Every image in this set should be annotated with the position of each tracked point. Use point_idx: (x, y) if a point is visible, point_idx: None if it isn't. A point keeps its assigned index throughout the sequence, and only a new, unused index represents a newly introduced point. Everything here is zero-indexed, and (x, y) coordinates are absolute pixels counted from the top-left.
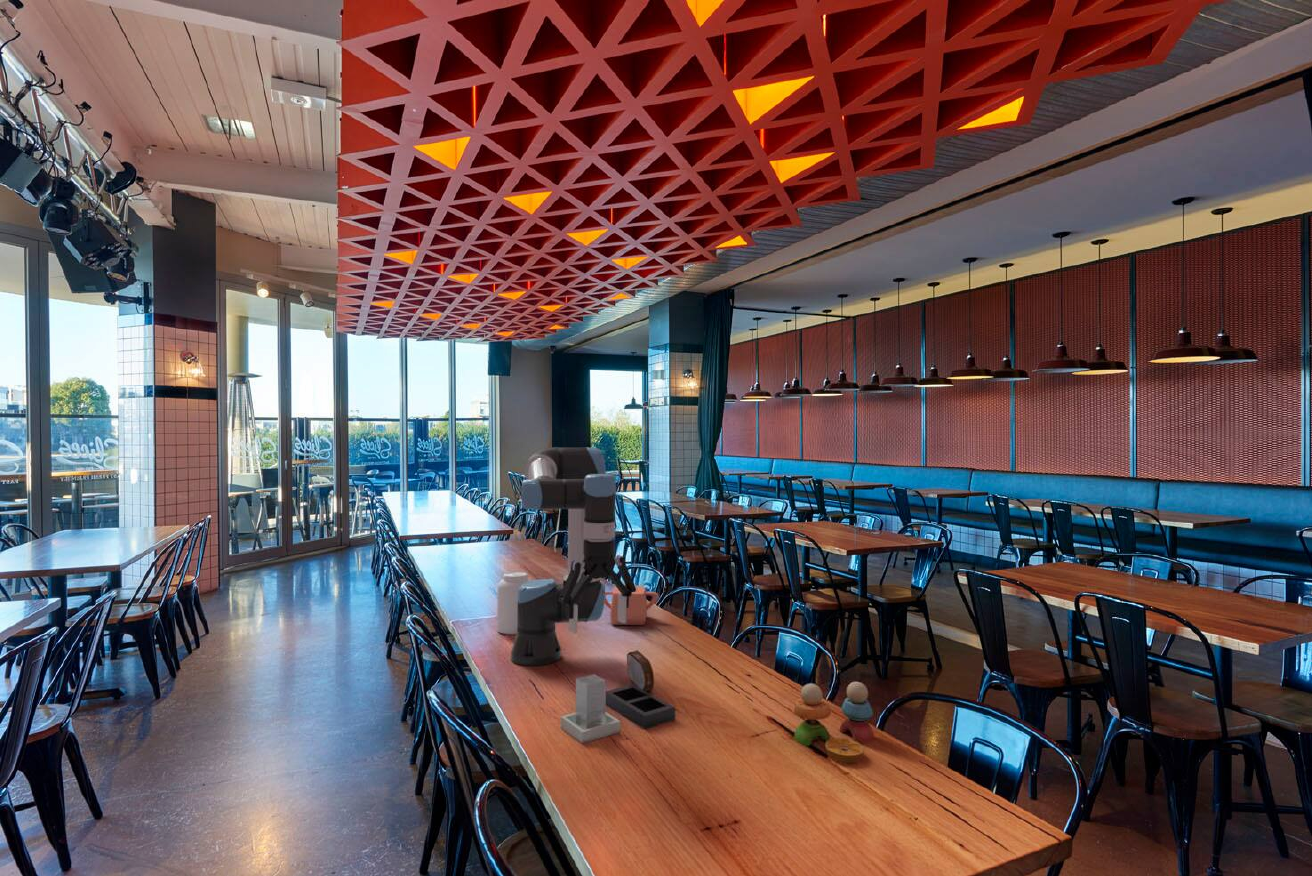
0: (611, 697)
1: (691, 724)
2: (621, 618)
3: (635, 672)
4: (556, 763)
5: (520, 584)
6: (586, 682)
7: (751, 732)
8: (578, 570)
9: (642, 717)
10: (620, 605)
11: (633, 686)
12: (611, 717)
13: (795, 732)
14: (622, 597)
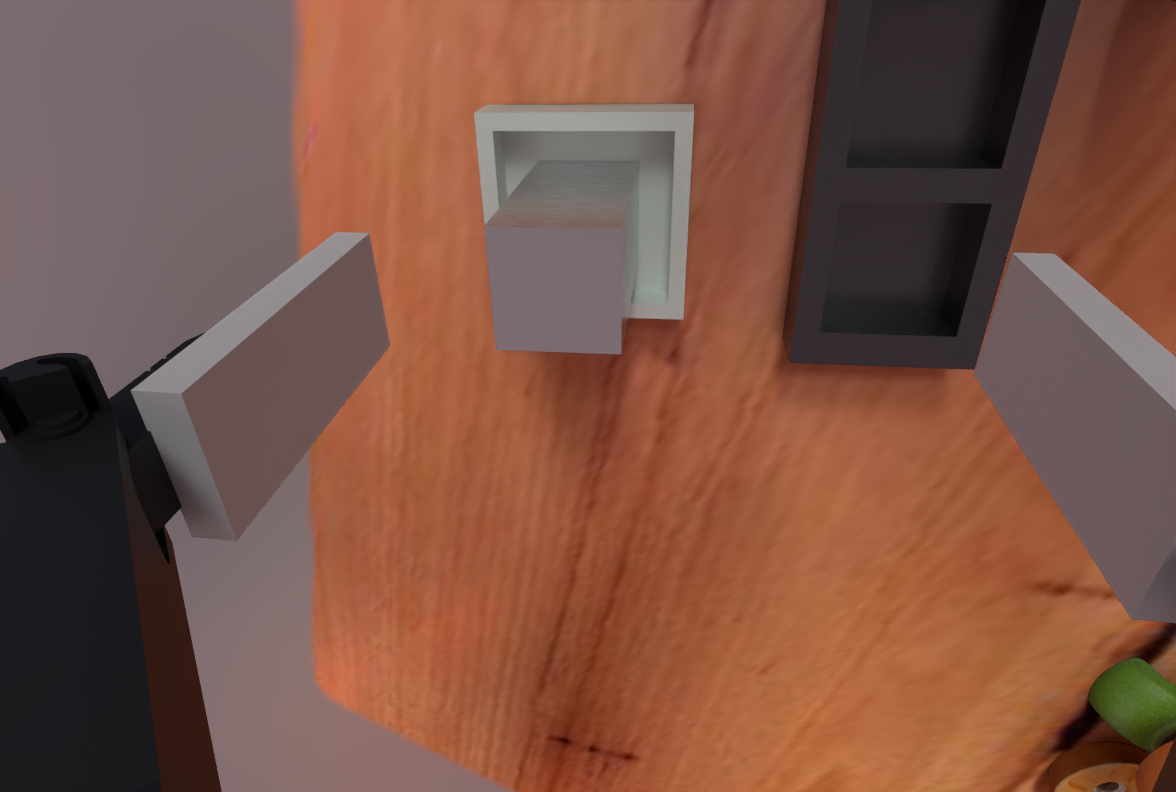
0: (832, 49)
1: (966, 410)
2: (1005, 356)
3: None
4: None
5: None
6: (510, 317)
7: (1066, 570)
8: None
9: (790, 340)
10: (1088, 426)
11: None
12: (673, 267)
13: (1134, 680)
14: (1144, 570)
